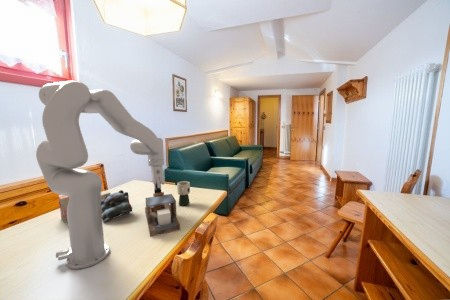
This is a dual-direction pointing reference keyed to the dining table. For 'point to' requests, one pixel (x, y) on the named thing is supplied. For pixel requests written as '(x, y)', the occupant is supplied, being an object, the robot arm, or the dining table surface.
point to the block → (163, 216)
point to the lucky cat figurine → (115, 205)
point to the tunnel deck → (151, 214)
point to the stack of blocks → (65, 200)
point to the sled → (159, 207)
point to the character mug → (183, 192)
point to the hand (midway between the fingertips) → (158, 196)
